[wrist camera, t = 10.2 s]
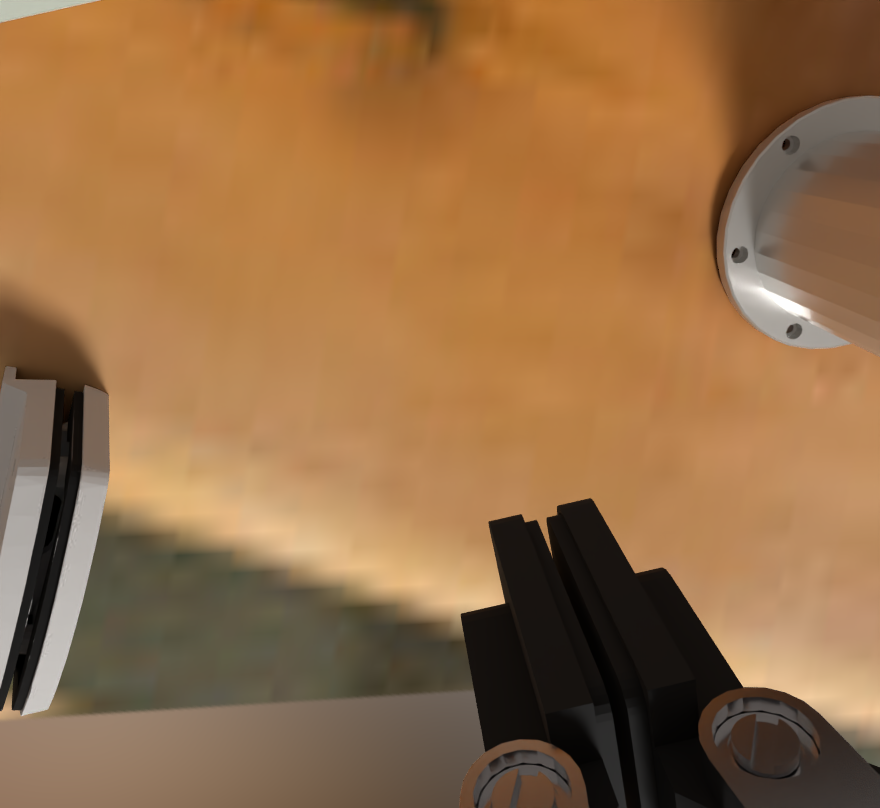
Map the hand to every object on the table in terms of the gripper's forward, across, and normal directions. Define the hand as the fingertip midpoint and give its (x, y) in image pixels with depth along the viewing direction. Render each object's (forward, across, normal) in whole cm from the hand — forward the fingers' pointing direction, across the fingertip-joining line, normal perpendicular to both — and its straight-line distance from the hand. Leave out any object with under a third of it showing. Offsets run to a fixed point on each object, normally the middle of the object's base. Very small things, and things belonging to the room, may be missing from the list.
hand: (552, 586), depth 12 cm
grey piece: (+28, +23, +9) cm, 37 cm away
